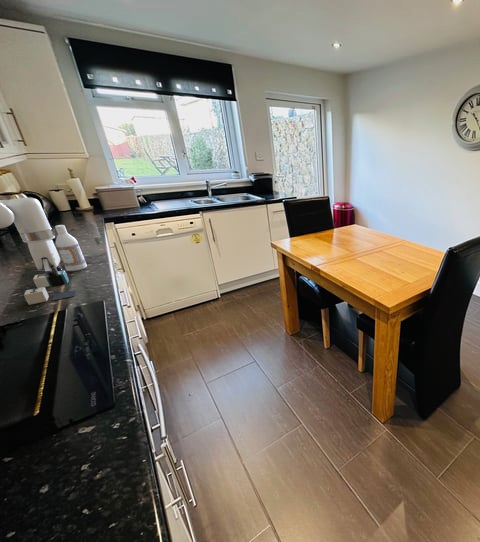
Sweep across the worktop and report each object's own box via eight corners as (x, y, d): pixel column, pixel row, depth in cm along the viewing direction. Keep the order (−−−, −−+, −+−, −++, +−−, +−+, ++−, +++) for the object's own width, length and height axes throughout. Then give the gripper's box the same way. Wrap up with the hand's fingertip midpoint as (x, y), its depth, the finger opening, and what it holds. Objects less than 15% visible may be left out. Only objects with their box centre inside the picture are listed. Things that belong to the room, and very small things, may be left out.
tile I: (28, 305, 98) (23, 294, 97) (31, 299, 101) (26, 289, 100) (47, 301, 101) (42, 291, 99) (49, 296, 104) (44, 286, 102)
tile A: (37, 288, 110) (32, 278, 108) (39, 284, 113) (35, 274, 111) (53, 285, 112) (49, 276, 111) (55, 281, 115) (51, 272, 114)
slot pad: (51, 301, 101) (51, 300, 101) (54, 294, 105) (53, 294, 105) (74, 296, 105) (74, 295, 105) (76, 290, 109) (75, 289, 109)
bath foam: (62, 272, 124) (43, 228, 116) (73, 266, 130) (55, 224, 122) (81, 271, 125) (63, 227, 118) (90, 265, 132) (74, 223, 124)
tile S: (50, 287, 100) (45, 276, 99) (52, 282, 104) (47, 272, 102) (67, 284, 103) (63, 273, 101) (69, 279, 106) (64, 269, 104)
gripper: (26, 231, 100) (48, 277, 107) (15, 243, 88) (40, 294, 95) (56, 228, 104) (75, 273, 111) (49, 239, 92) (71, 288, 99)
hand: (59, 282), depth 103 cm, fingers closed on tile S, 4 cm apart
